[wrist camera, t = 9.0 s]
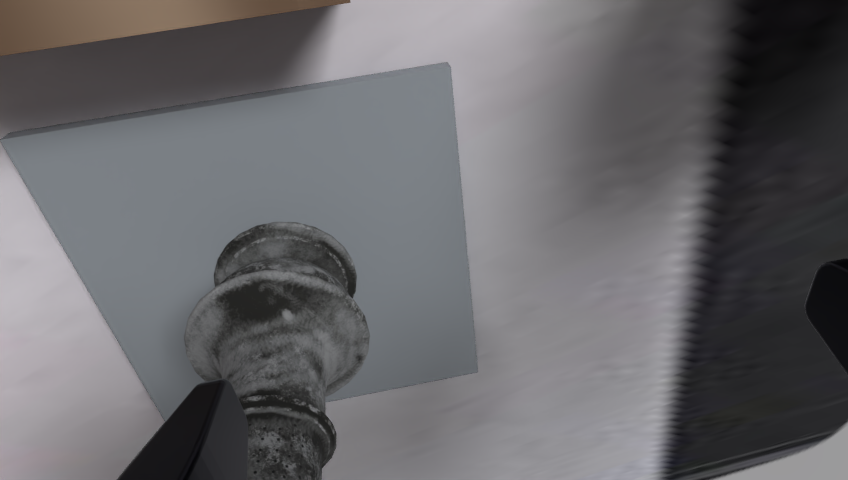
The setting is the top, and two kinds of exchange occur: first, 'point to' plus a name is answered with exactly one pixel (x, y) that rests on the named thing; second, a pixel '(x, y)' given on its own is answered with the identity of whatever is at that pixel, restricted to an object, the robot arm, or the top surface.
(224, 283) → the grey tall turned piece
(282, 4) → the brown wooden u-shaped frame
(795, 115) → the top surface
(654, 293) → the top surface
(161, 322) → the slate mat
